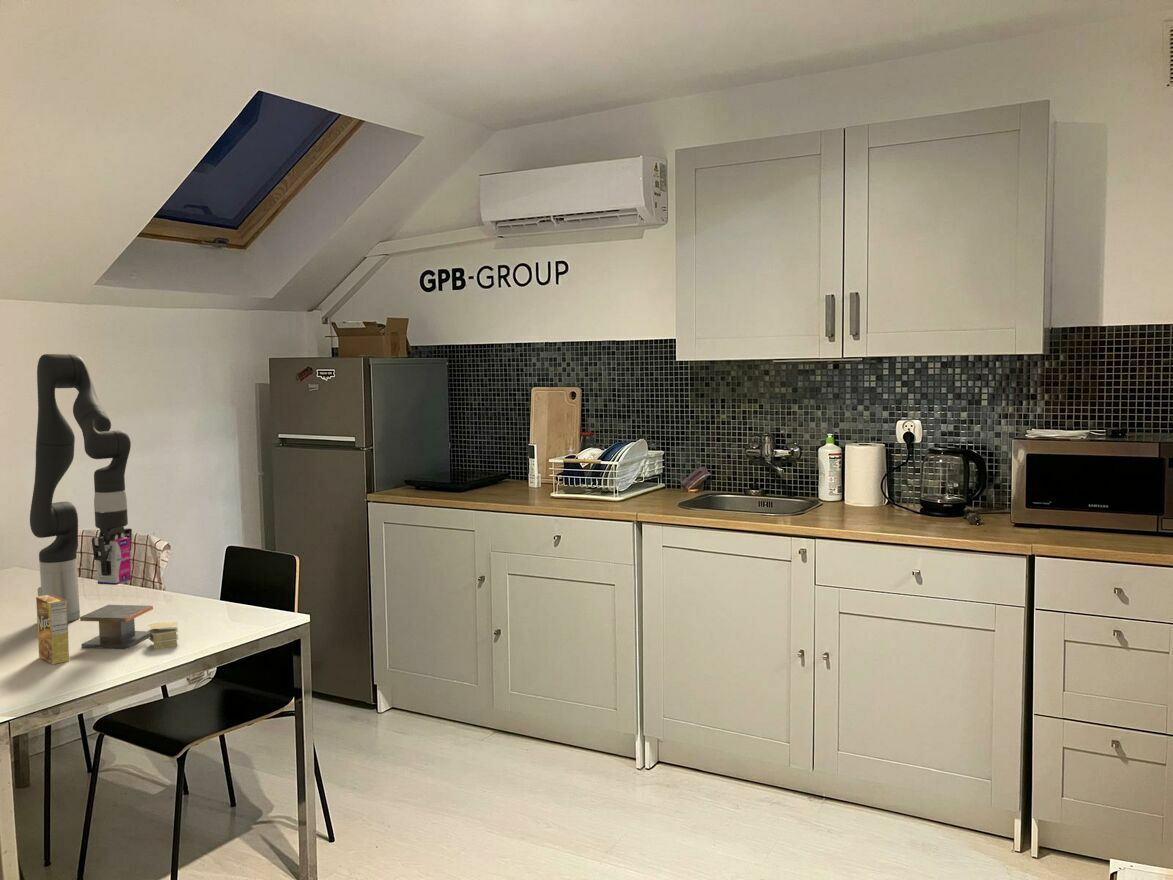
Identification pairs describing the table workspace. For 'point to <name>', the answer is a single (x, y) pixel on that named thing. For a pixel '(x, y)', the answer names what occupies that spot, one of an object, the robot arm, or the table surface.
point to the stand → (116, 626)
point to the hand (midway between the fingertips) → (114, 572)
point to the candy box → (52, 629)
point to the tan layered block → (163, 634)
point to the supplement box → (117, 563)
